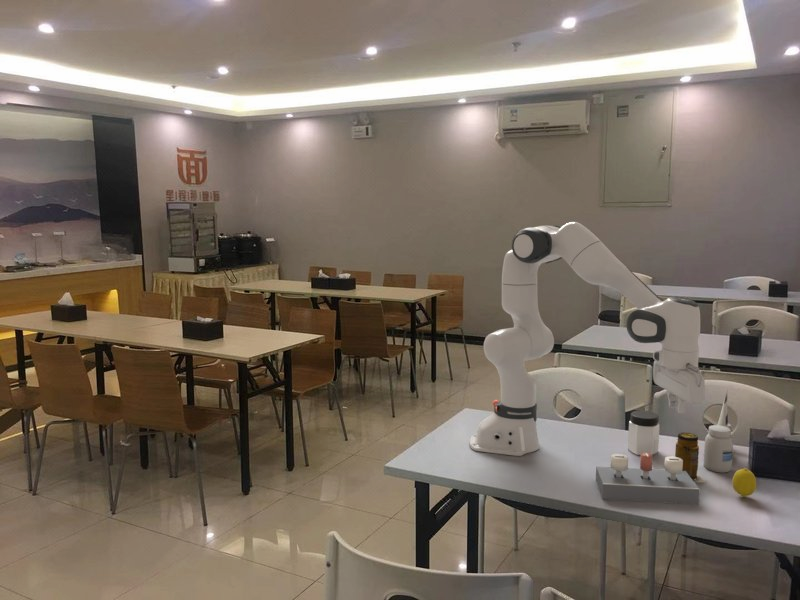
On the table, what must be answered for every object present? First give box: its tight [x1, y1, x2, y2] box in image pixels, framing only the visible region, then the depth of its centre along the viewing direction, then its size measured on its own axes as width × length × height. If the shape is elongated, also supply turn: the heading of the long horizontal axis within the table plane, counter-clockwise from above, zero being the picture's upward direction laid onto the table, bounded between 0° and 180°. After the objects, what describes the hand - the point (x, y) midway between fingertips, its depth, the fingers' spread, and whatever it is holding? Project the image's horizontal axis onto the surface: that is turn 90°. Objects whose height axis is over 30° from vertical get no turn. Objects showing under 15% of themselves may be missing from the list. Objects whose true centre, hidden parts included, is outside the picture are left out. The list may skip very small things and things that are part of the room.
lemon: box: [732, 467, 757, 498], centre depth 169 cm, size 6×6×8 cm
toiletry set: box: [703, 388, 736, 473], centre depth 194 cm, size 25×8×20 cm, turn 149°
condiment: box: [674, 431, 706, 484], centre depth 182 cm, size 7×8×12 cm
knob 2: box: [663, 455, 683, 481], centre depth 171 cm, size 4×4×7 cm
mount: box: [595, 466, 700, 505], centre depth 173 cm, size 24×12×4 cm, turn 82°
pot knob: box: [639, 453, 654, 480], centre depth 172 cm, size 3×3×8 cm
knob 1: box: [610, 453, 629, 478], centre depth 173 cm, size 4×4×7 cm
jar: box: [627, 410, 660, 456], centre depth 201 cm, size 9×8×12 cm
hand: (676, 410), depth 169 cm, fingers open, 2 cm apart
